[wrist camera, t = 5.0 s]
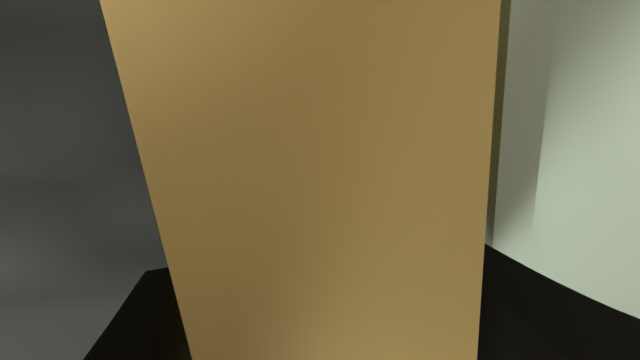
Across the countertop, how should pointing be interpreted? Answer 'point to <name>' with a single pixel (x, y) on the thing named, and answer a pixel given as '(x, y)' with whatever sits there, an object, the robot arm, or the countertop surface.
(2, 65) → the countertop surface
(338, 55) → the tan rectangular block
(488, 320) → the robot arm
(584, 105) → the tray
